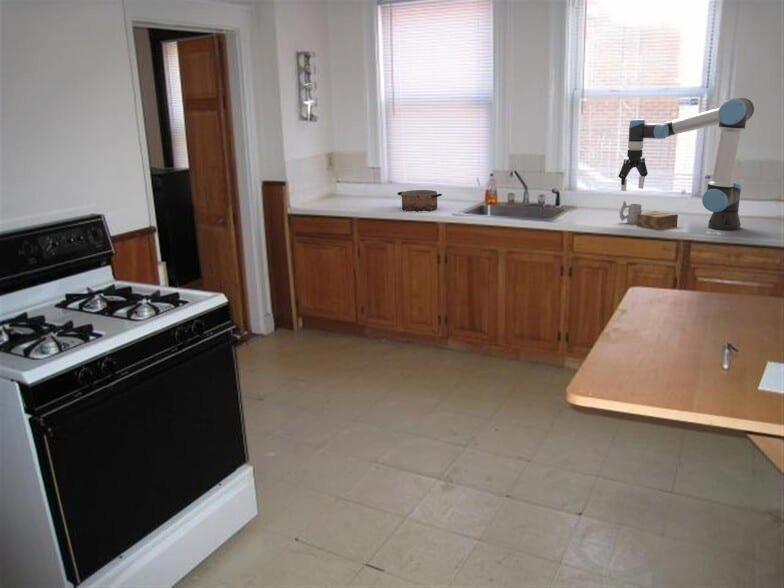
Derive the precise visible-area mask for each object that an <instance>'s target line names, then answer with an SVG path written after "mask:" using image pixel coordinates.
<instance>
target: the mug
mask: <svg viewBox="0 0 784 588" xmlns="http://www.w3.org/2000/svg"><path fill="white" fill-rule="evenodd" d="M626 208H628V209H627V212H628V213H627V214H626V215H625V214H624V210H625V209H626ZM642 212H643V210H642V204H639V203H629V204H627V202H626V201H625V200H623V204H622V206H621V208H620V210H619V218H620V219H621V220H620V221H622V222H623V221H625V219H626V221H627V224H629V225H631V224H632V225H637V222H638V215H639V214H642Z"/></svg>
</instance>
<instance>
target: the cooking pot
mask: <svg viewBox="0 0 784 588" xmlns="http://www.w3.org/2000/svg"><path fill="white" fill-rule="evenodd" d="M396 194H397V196H400V197H401V209H403V210H406V211H405V212H407V211H428V212H433V211H436V210H437V209H438V197H441V196H443V193H438V191H437V190H430V189H412V190H406V191H398V192H397V193H396ZM403 210H402V211H403Z"/></svg>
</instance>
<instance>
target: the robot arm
mask: <svg viewBox="0 0 784 588" xmlns="http://www.w3.org/2000/svg"><path fill="white" fill-rule="evenodd" d="M754 112H755V105H754V104H753V102H752V101H751V100H750V99H748V98H746V97H737V98H736V97H734V98H730V99H727V100H726V101H724V102H722V104H721V105H720V106H719V108H716V109H715V108H714V109H710V110H707V111H703V112H700V113H699V112H698V113H696V114H692V115H688V116H685V117H680V118H676V119H673V120H669V121H665V122H664V121H663V122H658V123H646V120H645V119H643V118H639V119H637V118H635V119H631V120H630V121H629V125H628V126H629V128H628V143H627V157H628V159H623V164H622V167H621V169H620V171H619V174H618V176H617V177H618V178H619V179H621V180H620V184H621V185H620V191H621V192H622V191H623V192H626V191H627V182H628V178H627V176H628V175H629V173H630V172H631V170H632V169H633V168H636V170H637V171H638V173H639V176H638V187H637V189H641V190H643V189H644V185H645V184H644V183H645V178H646V177H647V175H648V174H649V173H648V169H647V166H646V165H647V164H646V158H645V157H643V149H644V139H657V140H661V139H663V140H664V139H666V138H667V137H668V138H669V137H672V136H675V135H678V134H682V133H687V132H691V131H695V130H698V129H703V128H707V127H711V126H715V125H718V128H719V129H720V134H719V141H718V146H717V151H716V157H715V163H714V168H713V173H712V179H710V181H709V182H708V183H707V187H706V191H704V193H703V195H702V198H701V199H702V200H701V201H702V206H703V207H704V208H705V209H706V210H707V211H709V212H712V214H711V216H710V219H709V221H708V224H707V227H708V228H710V229H713V230H720V231H721V230H722V231H735V230H736V231H737V230H740V229H741V225H742V224H741V219H740V216H739V207H740V201H741V192H742V186H741V184H740V183H733V182H732V179H733V173H734V168H735V163H736V158H737V153H738V148H739V142H740V138H741V133H742V131H743V130H745V129H746V125H747V121H748V120H750V119H751V118H752V117H753V115H754Z"/></svg>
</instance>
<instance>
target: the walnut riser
mask: <svg viewBox="0 0 784 588" xmlns="http://www.w3.org/2000/svg"><path fill="white" fill-rule="evenodd" d="M678 217H679V214H677V213H671V212H670V213H669V212H663V211H656V210H655V211H649V212H643V213H641V214H639V215H638V222H637V224H636V225H637V227H641V226H642V227H643V228H647V227H648V228H647V229H652V228H654V229H653V230H658V229H661V230H665V228H666V229H670V227H671V228H676V227H678ZM642 227H641V228H642Z"/></svg>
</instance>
